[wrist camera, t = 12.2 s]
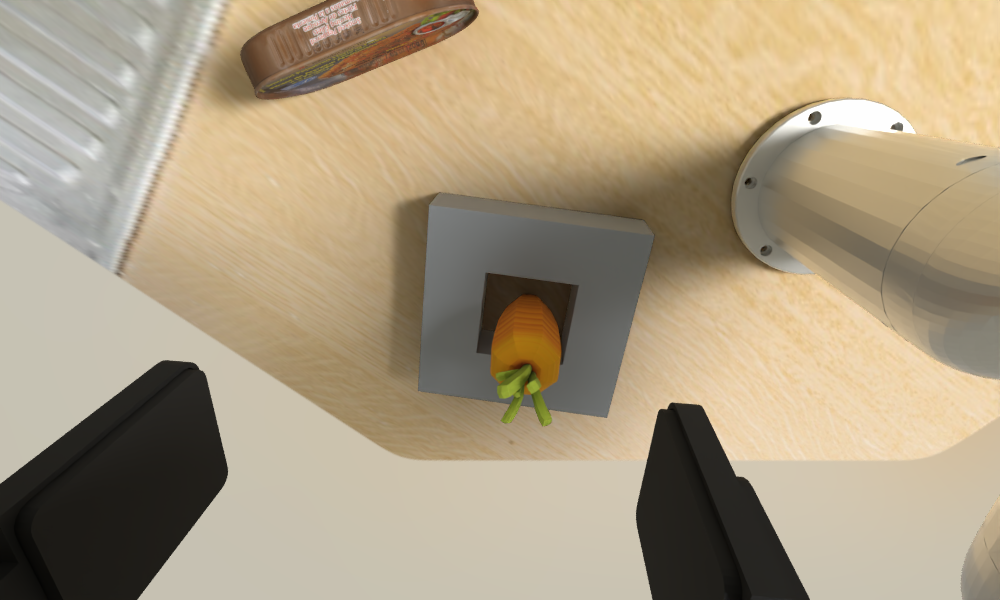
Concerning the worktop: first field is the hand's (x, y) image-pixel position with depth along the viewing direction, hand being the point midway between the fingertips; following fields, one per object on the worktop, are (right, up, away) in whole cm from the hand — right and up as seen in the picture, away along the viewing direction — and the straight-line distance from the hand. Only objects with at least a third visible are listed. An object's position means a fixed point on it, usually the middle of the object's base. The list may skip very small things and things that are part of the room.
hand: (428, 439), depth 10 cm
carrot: (+4, +3, +32) cm, 32 cm away
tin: (-7, +21, +25) cm, 33 cm away
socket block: (+4, +3, +32) cm, 32 cm away
